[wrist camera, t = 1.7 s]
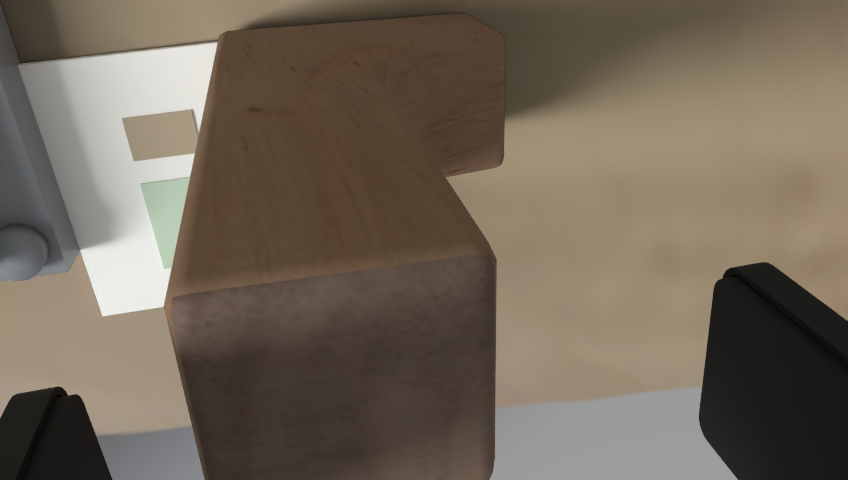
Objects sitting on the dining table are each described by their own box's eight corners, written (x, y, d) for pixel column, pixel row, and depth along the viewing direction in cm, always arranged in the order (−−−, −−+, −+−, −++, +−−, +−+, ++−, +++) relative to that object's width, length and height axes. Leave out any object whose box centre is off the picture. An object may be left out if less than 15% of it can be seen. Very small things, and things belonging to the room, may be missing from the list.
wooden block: (470, 10, 26) (805, 205, 10) (471, 129, 28) (753, 445, 12) (215, 30, 25) (153, 294, 9) (236, 154, 27) (215, 551, 11)
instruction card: (259, 36, 25) (259, 38, 25) (303, 281, 30) (304, 285, 30) (20, 63, 24) (17, 66, 24) (104, 312, 29) (102, 317, 29)
